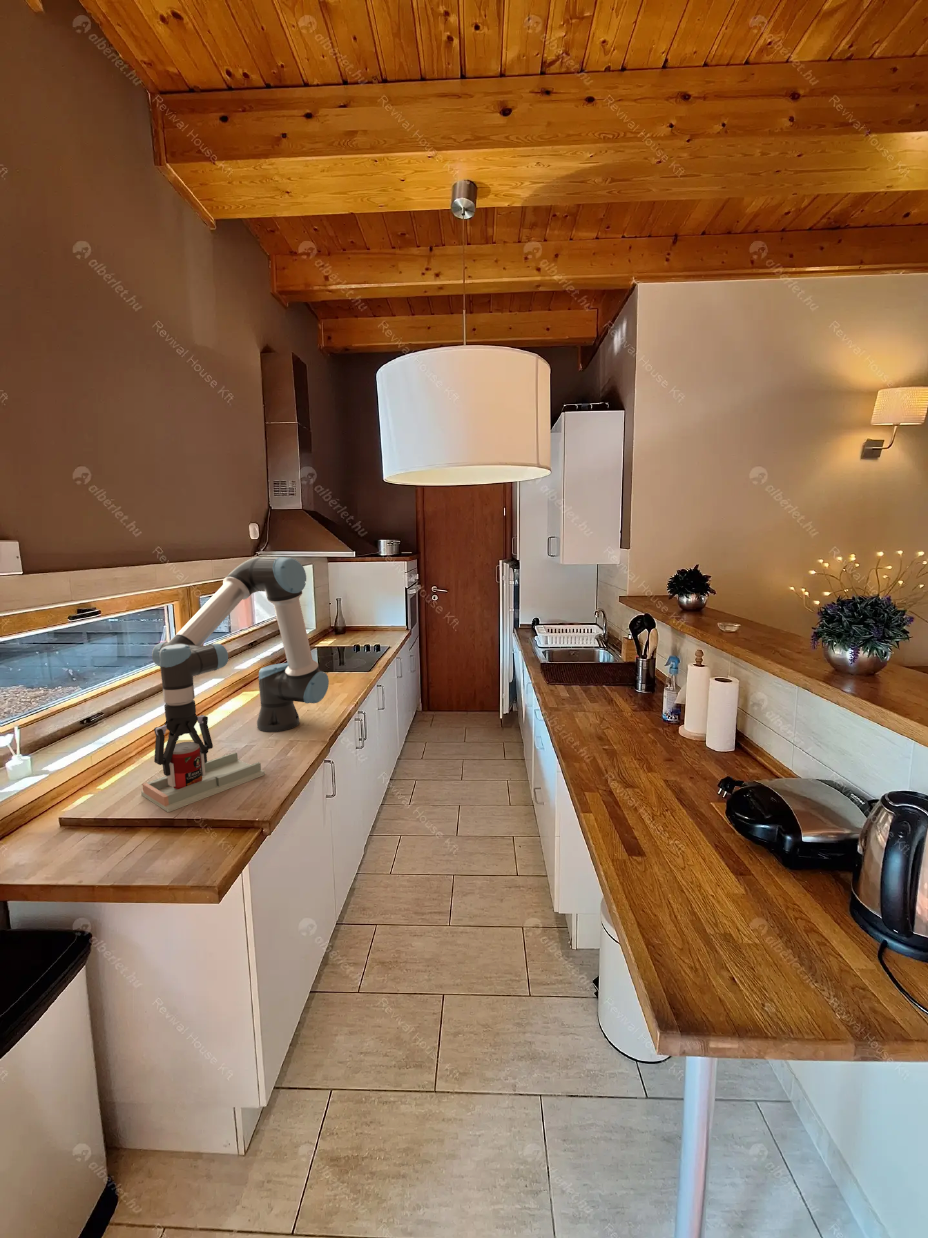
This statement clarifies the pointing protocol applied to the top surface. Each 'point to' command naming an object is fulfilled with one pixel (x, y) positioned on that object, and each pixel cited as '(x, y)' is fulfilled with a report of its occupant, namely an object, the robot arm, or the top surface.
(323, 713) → the top surface
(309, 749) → the top surface
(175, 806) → the grey miter box
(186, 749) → the canned food
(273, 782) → the top surface
